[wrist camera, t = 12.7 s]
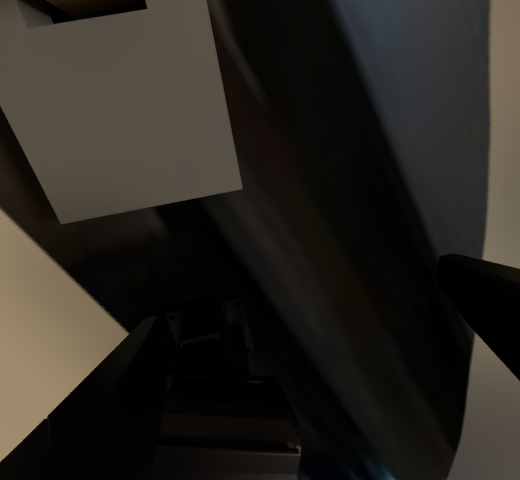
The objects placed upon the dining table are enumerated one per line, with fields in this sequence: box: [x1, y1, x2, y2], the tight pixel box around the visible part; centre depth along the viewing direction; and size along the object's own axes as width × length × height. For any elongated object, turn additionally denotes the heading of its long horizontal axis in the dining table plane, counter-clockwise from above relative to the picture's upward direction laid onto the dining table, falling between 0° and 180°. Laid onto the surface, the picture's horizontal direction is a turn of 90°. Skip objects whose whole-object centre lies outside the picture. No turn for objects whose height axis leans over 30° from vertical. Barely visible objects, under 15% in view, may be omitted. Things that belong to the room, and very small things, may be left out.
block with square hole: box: [0, 0, 243, 224], centre depth 15 cm, size 16×11×3 cm
